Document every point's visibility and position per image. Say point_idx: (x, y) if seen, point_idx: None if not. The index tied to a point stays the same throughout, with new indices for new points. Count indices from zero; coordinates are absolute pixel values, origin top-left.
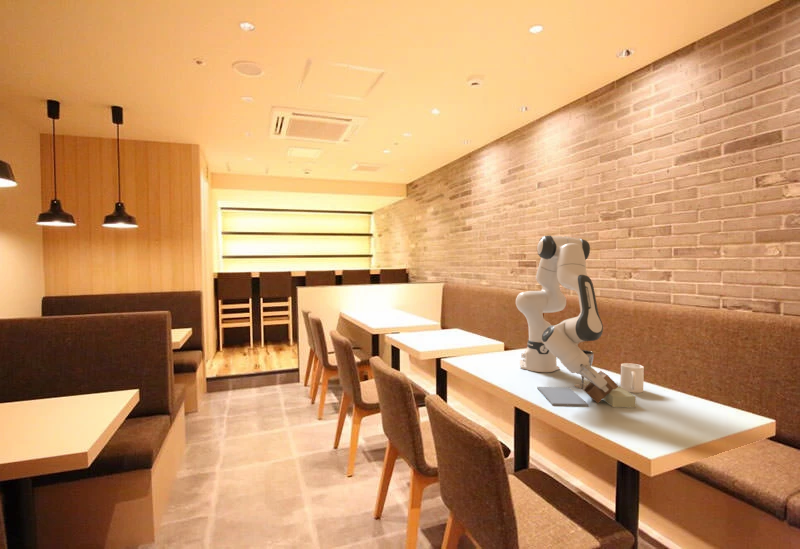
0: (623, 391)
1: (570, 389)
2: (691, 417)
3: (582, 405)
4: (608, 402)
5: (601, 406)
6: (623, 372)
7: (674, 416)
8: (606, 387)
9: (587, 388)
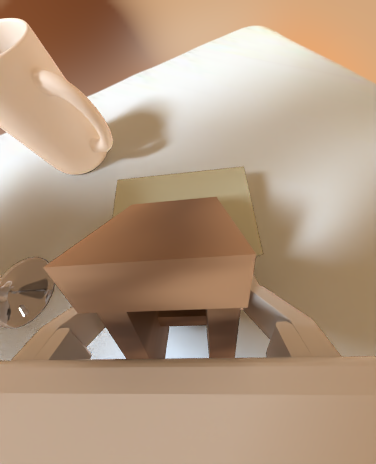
0: (181, 187)
1: None
2: (277, 103)
3: None
4: None
5: None
6: (16, 114)
7: (282, 129)
8: (253, 278)
9: None
